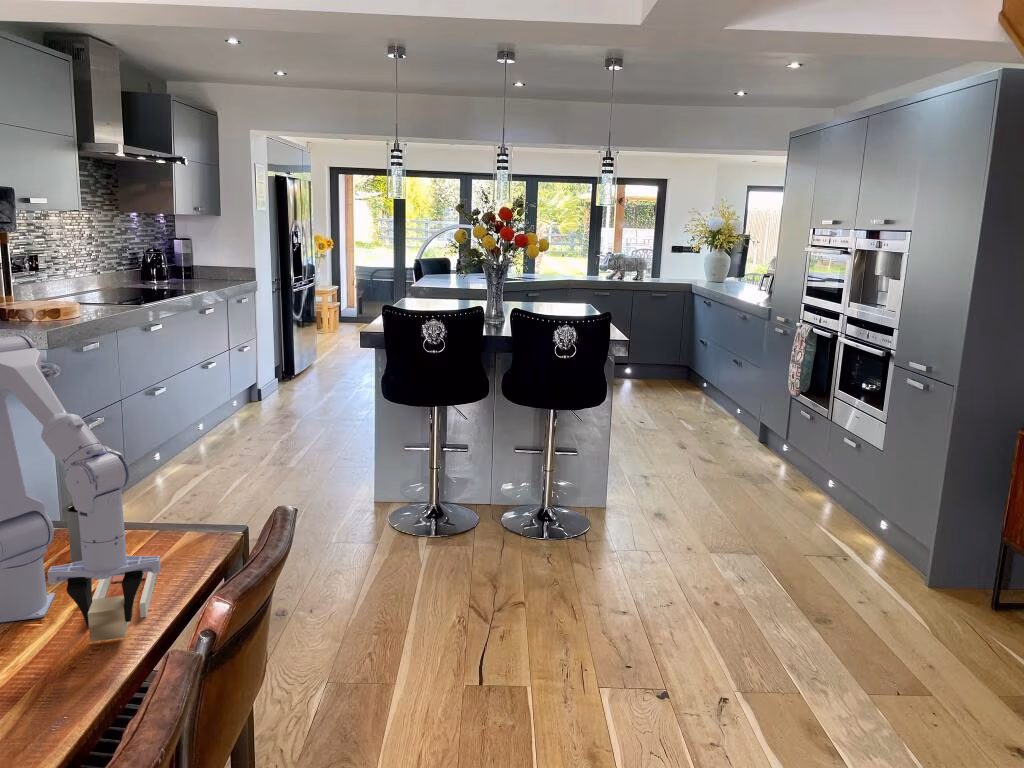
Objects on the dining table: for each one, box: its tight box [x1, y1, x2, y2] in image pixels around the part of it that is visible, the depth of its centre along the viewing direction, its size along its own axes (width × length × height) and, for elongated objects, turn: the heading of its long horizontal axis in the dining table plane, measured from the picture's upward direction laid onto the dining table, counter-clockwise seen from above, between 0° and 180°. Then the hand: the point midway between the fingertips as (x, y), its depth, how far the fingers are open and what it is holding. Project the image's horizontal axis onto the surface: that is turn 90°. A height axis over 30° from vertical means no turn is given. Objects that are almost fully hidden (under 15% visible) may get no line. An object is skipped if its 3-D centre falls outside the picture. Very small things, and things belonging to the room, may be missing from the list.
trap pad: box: [110, 572, 148, 584], centre depth 136 cm, size 6×4×1 cm, turn 109°
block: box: [88, 595, 130, 643], centre depth 114 cm, size 4×4×4 cm
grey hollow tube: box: [65, 504, 82, 563], centre depth 141 cm, size 4×4×10 cm
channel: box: [92, 572, 158, 619], centre depth 129 cm, size 8×18×2 cm, turn 19°
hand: (109, 621), depth 115 cm, fingers closed on block, 4 cm apart
